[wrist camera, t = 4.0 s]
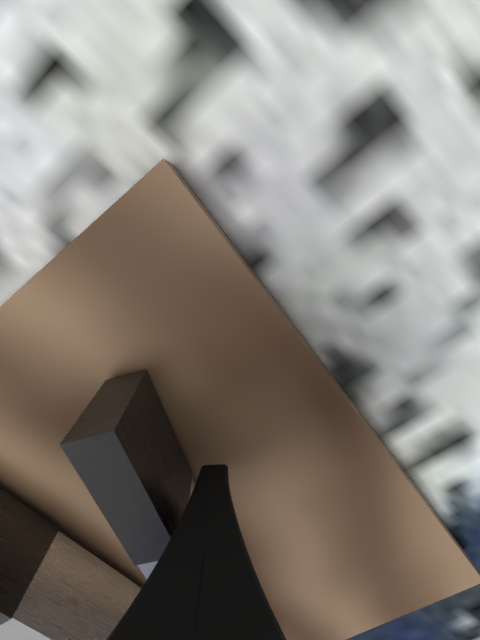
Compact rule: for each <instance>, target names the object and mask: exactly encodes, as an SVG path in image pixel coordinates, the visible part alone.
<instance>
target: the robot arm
mask: <svg viewBox="0 0 480 640" xmlns="http://www.w3.org/2000/svg"><path fill="white" fill-rule="evenodd" d="M106 640H286V638H285V636H284V634H283V632H282V630H281V628H280V626H279V623H278V621H277V619H276V617H275V615H274V613H273V611H272V609H271V607H270V605H269V603H268V600H267V598H266V596H265V593H264V591H263V589H262V587H261V584H260V582H259V579H258V577H257V575H256V572H255V570H254V567H253V565H252V562H251V559H250V557H249V554H248V551H247V548H246V546H245V543H244V540H243V537H242V534H241V531H240V528H239V524H238V521H237V517H236V514H235V510H234V506H233V502H232V498H231V493H230V488H229V477H228V466H226V465H225V464H217V465H203V466H202V467H201V469H200V472H199V476H198V478H197V481H196V484H195V487H194V489H193V492H192V494H191V496H190V499H189V501H188V503H187V506H186V508H185V510H184V512H183V514H182V516H181V519H180V521H179V523H178V525H177V527H176V529H175V531H174V533H173V534H172V536H171V538H170V540H169V542H168V544H167V546H166V548H165V550H164V551H163V553H162V555H161V557H160V559H159V560H158V562H157V564H156V565H155V567H154V569H153V571H152V572H151V574H150V575H149V577H148V579H147V580H146V582H145V584H144V585H143V587H142V588H141V590H140V591H139V593H138V594H137V596H136V597H135V599H134V600H133V602H132V603H131V605H130V606H129V608H128V610H127V611H126V613H125V614H124V615H123V617H122V618H121V620H120V621H119V623H118V624H117V625H116V627H115V628H114V630H113V631H112V632H111V634H110V635H109V636H108V638H107V639H106Z"/></svg>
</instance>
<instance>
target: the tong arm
mask: <svg viewBox="0 0 480 640" xmlns="http://www.w3.org/2000/svg"><path fill="white" fill-rule="evenodd" d="M60 446H61V448H62V449H63V451H64V452H65V454H66V456H67V457H68V459H69V461H70V462H71V464H72V465H73V467H74V469H75V470H76V472H77V473H78V475H79V477H80V478H81V480H82V481H83V483H84V485H85V486H86V488H87V490H88V491H89V493H90V494H91V496H92V498H93V499H94V501H95V502H96V504H97V506H98V507H99V509H100V510H101V512H102V514H103V515H104V517H105V519H106V520H107V522H108V523H109V525H110V527H111V528H112V530H113V531H114V533H115V535H116V536H117V538H118V539H119V541H120V543H121V544H122V546H123V547H124V549H125V551H126V552H127V554H128V556H129V557H130V559H131V560H132V562H133V564H134V565H135V566H136V565H138V566H139V568H140V570H141V571H142V573H143V575H144V576H145V578H146V579H148V577H149V575H150V574H151V572H152V571H153V569H154V567H155V565H156V564H157V562H158V560H159V559H160V557H161V555H162V553H163V551H164V550H165V548H166V546H167V544H168V542H169V540H170V538H171V536H172V534H173V533H174V531H175V529H176V527H177V525H178V523H179V521H180V519H181V516H182V514H183V512H184V510H185V508H186V506H187V503H188V501H189V499H190V496H191V494H192V492H193V489H194V487H195V482H194V479H193V477H192V476H193V473H192V471H191V468H190V466H189V464H188V462H187V459H186V457H185V455H184V453H183V450H182V448H181V446H180V444H179V441H178V439H177V437H176V434H175V432H174V430H173V428H172V425H171V423H170V421H169V419H168V416H167V414H166V412H165V410H164V407H163V405H162V403H161V401H160V398H159V396H158V394H157V391H156V389H155V387H154V385H153V382H152V380H151V378H150V376H149V373H148V371H147V369H145V370H141V371H137V372H133V373H129V374H125V375H121V376H118V377H114V378H110V379H106V381H105V382H104V383H103V385H102V386H101V387H100V389H99V390H98V392H97V393H96V394H95V396H94V397H93V399H92V400H91V401H90V403H89V404H88V406H87V407H86V408H85V410H84V411H83V412H82V414H81V415H80V417H79V418H78V419H77V421H76V422H75V424H74V425H73V426H72V428H71V429H70V430H69V432H68V433H67V435H66V436H65V437H64V439H63V440H62V442H61V443H60Z"/></svg>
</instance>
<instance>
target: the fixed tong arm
mask: <svg viewBox="0 0 480 640" xmlns="http://www.w3.org/2000/svg"><path fill="white" fill-rule="evenodd" d="M140 590H141V588H140V587H139V586H138V585H136V584H135V583H133V582H132V581H130V580H129V579H127V578H126V577H125V576H123V575H122V574H120V573H119V572H117V571H116V570H114V569H113V568H112V567H110V566H109V565H107V564H106V563H104V562H103V561H102V560H100V559H99V558H97V557H96V556H94V555H93V554H91V553H90V552H89V551H87V550H86V549H84V548H83V547H81V546H80V545H78V544H77V543H76V542H74V541H73V540H71V539H70V538H68V537H67V536H65V535H64V534H63V533H61V532H60V531H59V528H58V527H56V526H55V525H53V524H52V523H51V522H49V521H48V520H46V519H45V518H43V517H42V516H40V515H39V514H38V513H36V512H35V511H33V510H32V509H30V508H29V507H28V506H26V505H25V504H23V503H22V502H20V501H19V500H18V499H16V498H15V497H13V496H12V495H10V494H9V493H7V492H6V491H5V490H3V489H2V488H0V640H106V639H107V638H108V636H109V635H110V634H111V632H112V631H113V630H114V628H115V627H116V625H117V624H118V623H119V621H120V620H121V618H122V617H123V615H124V614H125V613H126V611H127V610H128V608H129V606H130V605H131V603H132V602H133V600H134V599H135V597H136V596H137V594H138V593H139V591H140Z"/></svg>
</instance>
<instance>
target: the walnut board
mask: <svg viewBox="0 0 480 640" xmlns="http://www.w3.org/2000/svg"><path fill="white" fill-rule="evenodd" d="M145 369H147V371H148V373H149V376H150V378H151V380H152V382H153V385H154V387H155V389H156V391H157V394H158V396H159V398H160V401H161V403H162V405H163V407H164V410H165V412H166V414H167V416H168V419H169V421H170V423H171V425H172V428H173V430H174V432H175V434H176V437H177V439H178V441H179V444H180V446H181V448H182V450H183V453H184V455H185V457H186V459H187V462H188V464H189V466H190V468H191V471H192V473H193V476H192V477H193V479H194V482H195V484H196V481H197V478H198V476H199V472H200V469H201V467H202V466H203V465H217V464H225V465H226V466H228V477H229V488H230V493H231V498H232V502H233V506H234V510H235V514H236V517H237V521H238V524H239V528H240V531H241V534H242V537H243V540H244V543H245V546H246V548H247V551H248V554H249V557H250V559H251V562H252V565H253V567H254V570H255V572H256V575H257V577H258V579H259V582H260V584H261V587H262V589H263V591H264V593H265V596H266V598H267V600H268V603H269V605H270V607H271V609H272V611H273V613H274V615H275V617H276V619H277V621H278V623H279V626H280V628H281V630H282V632H283V634H284V636H285V638H286V640H346V639H348V638H350V637H353V636H355V635H358V634H360V633H362V632H365V631H367V630H370V629H372V628H374V627H377V626H379V625H382V624H384V623H386V622H389V621H391V620H394V619H396V618H399V617H401V616H403V615H406V614H408V613H411V612H413V611H415V610H418V609H420V608H423V607H425V606H427V605H430V604H432V603H435V602H437V601H439V600H442V599H444V598H447V597H449V596H451V595H454V594H456V593H459V592H461V591H463V590H466V589H468V588H471V587H473V586H475V585H478V584H480V574H479V573H478V571H477V570H476V568H475V567H474V565H473V564H472V562H471V561H470V559H469V558H468V556H467V554H466V553H465V551H464V550H463V549H462V547H461V546H460V545H459V543H458V542H457V541H456V539H455V538H454V537H453V535H452V534H451V533H450V531H449V530H448V529H447V527H446V526H445V525H444V523H443V522H442V521H441V519H440V518H439V517H438V515H437V514H436V513H435V511H434V510H433V509H432V508H431V506H430V505H429V504H428V502H427V501H426V500H425V498H424V497H423V496H422V494H421V493H420V492H419V490H418V489H417V488H416V486H415V485H414V484H413V482H412V481H411V480H410V478H409V477H408V476H407V474H406V473H405V472H404V470H403V469H402V468H401V466H400V465H399V464H398V462H397V461H396V460H395V458H394V457H393V456H392V454H391V453H390V452H389V450H388V449H387V448H386V446H385V445H384V444H383V442H382V441H381V440H380V438H379V437H378V436H377V434H376V433H375V432H374V431H373V429H372V428H371V427H370V425H369V424H368V423H367V421H366V420H365V419H364V417H363V416H362V415H361V413H360V412H359V411H358V409H357V408H356V407H355V405H354V404H353V403H352V401H351V400H350V399H349V397H348V396H347V395H346V393H345V392H344V391H343V389H342V388H341V387H340V385H339V384H338V383H337V381H336V380H335V379H334V377H333V376H332V375H331V373H330V372H329V371H328V369H327V368H326V367H325V365H324V364H323V363H322V361H321V360H320V359H319V358H318V356H317V355H316V354H315V352H314V351H313V350H312V348H311V347H310V346H309V344H308V343H307V342H306V340H305V339H304V338H303V336H302V335H301V334H300V332H299V331H298V330H297V328H296V327H295V326H294V324H293V323H292V322H291V320H290V319H289V318H288V316H287V315H286V314H285V312H284V311H283V310H282V308H281V307H280V306H279V304H278V303H277V302H276V300H275V299H274V298H273V296H272V295H271V294H270V292H269V291H268V290H267V288H266V287H265V286H264V284H263V283H262V282H261V281H260V279H259V278H258V277H257V275H256V274H255V273H254V271H253V270H252V269H251V267H250V266H249V265H248V263H247V262H246V261H245V259H244V258H243V257H242V255H241V254H240V253H239V251H238V250H237V249H236V247H235V246H234V245H233V243H232V242H231V241H230V239H229V238H228V237H227V235H226V234H225V233H224V231H223V230H222V229H221V227H220V226H219V225H218V223H217V222H216V221H215V219H214V218H213V217H212V215H211V214H210V213H209V211H208V210H207V209H206V207H205V206H204V205H203V204H202V202H201V201H200V200H199V198H198V197H197V196H196V194H195V193H194V192H193V190H192V189H191V188H190V186H189V185H188V184H187V182H186V181H185V180H184V178H183V177H182V176H181V174H180V173H179V172H178V170H177V169H176V168H175V166H174V165H173V164H171V163H169V162H168V161H166V160H165V159H163V160H162V161H161V162H159V163H158V164H157V165H156V166H155V167H154V168H153V169H152V170H151V171H150V172H148V173H147V174H146V175H145V176H144V177H143V178H142V179H141V180H140V181H139V182H137V183H136V184H135V185H134V186H133V187H132V188H131V189H130V190H129V191H128V192H126V193H125V194H124V195H123V196H122V197H121V198H120V199H119V200H118V201H116V202H115V203H114V204H113V205H112V206H111V207H110V208H109V209H108V210H107V211H105V212H104V213H103V214H102V215H101V216H100V217H99V218H98V219H97V220H96V221H94V222H93V223H92V224H91V225H90V226H89V227H88V228H87V229H86V230H84V231H83V232H82V233H81V234H80V235H79V236H78V237H77V238H76V239H75V240H73V241H72V242H71V243H70V244H69V245H68V246H67V247H66V248H65V249H64V250H62V251H61V252H60V253H59V254H58V255H57V256H56V257H55V258H54V259H53V260H51V261H50V262H49V263H48V264H47V265H46V266H45V267H44V268H43V269H41V270H40V271H39V272H38V273H37V274H36V275H35V276H34V277H33V278H32V279H30V280H29V281H28V282H27V283H26V284H25V285H24V286H23V287H22V288H21V289H19V290H18V291H17V292H16V293H15V294H14V295H13V296H12V297H11V298H10V299H8V300H7V301H6V302H5V303H4V304H3V305H2V306H1V307H0V488H2V489H3V490H5V491H6V492H7V493H9V494H10V495H12V496H13V497H15V498H16V499H18V500H19V501H20V502H22V503H23V504H25V505H26V506H28V507H29V508H30V509H32V510H33V511H35V512H36V513H38V514H39V515H40V516H42V517H43V518H45V519H46V520H48V521H49V522H51V523H52V524H53V525H55V526H56V527H58V528H59V531H60V532H61V533H63V534H64V535H65V536H67V537H68V538H70V539H71V540H73V541H74V542H76V543H77V544H78V545H80V546H81V547H83V548H84V549H86V550H87V551H89V552H90V553H91V554H93V555H94V556H96V557H97V558H99V559H100V560H102V561H103V562H104V563H106V564H107V565H109V566H110V567H112V568H113V569H114V570H116V571H117V572H119V573H120V574H122V575H123V576H125V577H126V578H127V579H129V580H130V581H132V582H133V583H135V584H136V585H138V586H139V587H140V588H142V587H143V585H144V584H145V582H146V580H147V579H146V578H145V576H144V575H143V573H142V571H141V570H140V568H139V566H138V565H136V566H135V565H134V564H133V562H132V560H131V559H130V557H129V556H128V554H127V552H126V551H125V549H124V547H123V546H122V544H121V543H120V541H119V539H118V538H117V536H116V535H115V533H114V531H113V530H112V528H111V527H110V525H109V523H108V522H107V520H106V519H105V517H104V515H103V514H102V512H101V510H100V509H99V507H98V506H97V504H96V502H95V501H94V499H93V498H92V496H91V494H90V493H89V491H88V490H87V488H86V486H85V485H84V483H83V481H82V480H81V478H80V477H79V475H78V473H77V472H76V470H75V469H74V467H73V465H72V464H71V462H70V461H69V459H68V457H67V456H66V454H65V452H64V451H63V449H62V448H61V446H60V443H61V442H62V440H63V439H64V437H65V436H66V435H67V433H68V432H69V430H70V429H71V428H72V426H73V425H74V424H75V422H76V421H77V419H78V418H79V417H80V415H81V414H82V412H83V411H84V410H85V408H86V407H87V406H88V404H89V403H90V401H91V400H92V399H93V397H94V396H95V394H96V393H97V392H98V390H99V389H100V387H101V386H102V385H103V383H104V382H105V381H106V379H110V378H114V377H118V376H121V375H125V374H129V373H133V372H137V371H141V370H145Z"/></svg>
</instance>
